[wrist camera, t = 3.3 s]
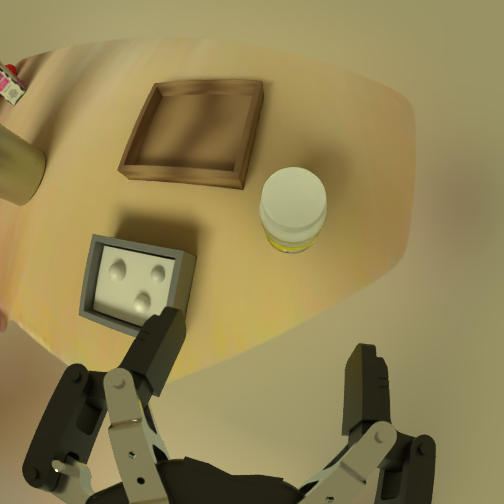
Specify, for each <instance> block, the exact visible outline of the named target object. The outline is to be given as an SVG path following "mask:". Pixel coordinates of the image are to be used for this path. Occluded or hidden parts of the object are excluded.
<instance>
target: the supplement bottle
mask: <svg viewBox="0 0 504 504" xmlns="http://www.w3.org/2000/svg"><path fill="white" fill-rule="evenodd" d="M259 213H260V218H261V222H262V224H263V228H264V231H265V234H266V236H267V239H268V241H269V242H270V244H271V245H272V246H273V247H274V248H276V249H277V250H279V251H281V252H284V253H288V254H295V253H300V252H302V251H304V250H306V249H307V248H309V247H310V246H311V245H312V244H313V242H314V241H315V239H316V237H317V235H318V233H319V231H320V229H321V227H322V226H323V224H324V222H325V219H326V215H327V204H326V191H325V188H324V186H323V184H322V182H321V181H320V179H319V178H318V177H317V176H316V175H314V174H313V173H312V172H310V171H308V170H306V169H303V168H299V167H287V168H283V169H280V170H278V171H276V172H275V173H273V174H272V175H271V176H270V177H269V178H268V179H267V181H266V183H265V184H264V187H263V190H262V197H261V200H260V205H259Z"/></svg>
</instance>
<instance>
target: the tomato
mask: <svg viewBox="0 0 504 504" xmlns="http://www.w3.org/2000/svg"><path fill="white" fill-rule="evenodd" d="M5 66H6V67H7V68H8V69H9V70H10V71H11V72H12V73H14V74H15V75H16V68H15V66H13V65H10V64H9V65H5Z"/></svg>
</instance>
